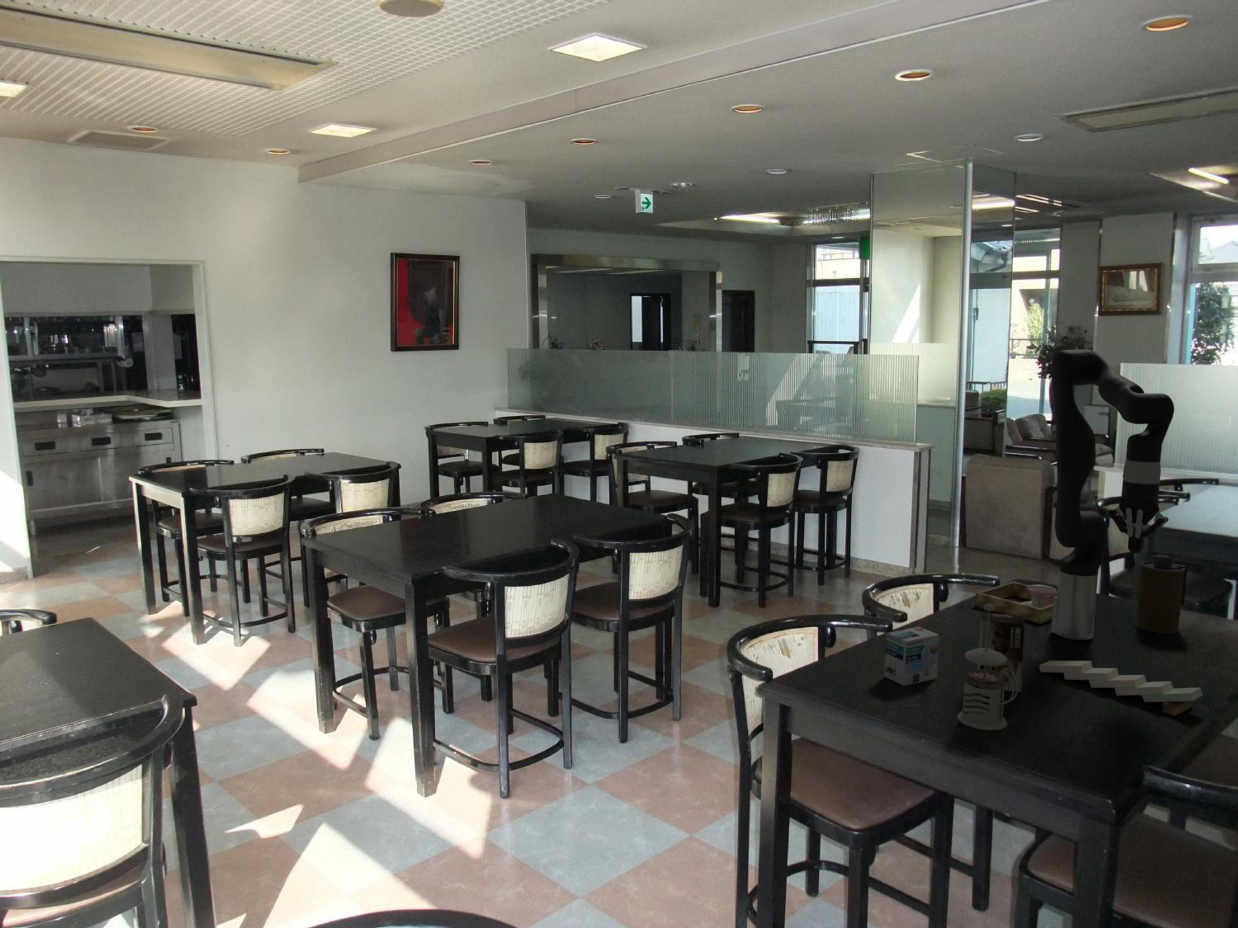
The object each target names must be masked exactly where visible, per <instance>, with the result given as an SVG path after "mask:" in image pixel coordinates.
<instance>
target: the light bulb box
mask: <svg viewBox="0 0 1238 928" xmlns="http://www.w3.org/2000/svg"><path fill="white" fill-rule="evenodd" d="M885 639H886V640H885V645H886V646H885V657H884V659H885V662H884V677H885V678H887V679H889V680H891V681H893V682H896V683H898V684H899V685H902V686H909V685H913V684H919V683H923V682H928V681H934V680H937V679H938V665H939V646H940V634H938V633H936V632H933V631H930V630H927V629H925V628H923V627H920V626H916V627H911V628H907V629H901V630H895V631H891V632H890V631H889V632H886V638H885Z"/></svg>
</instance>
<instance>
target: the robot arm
mask: <svg viewBox="0 0 1238 928" xmlns="http://www.w3.org/2000/svg"><path fill="white" fill-rule="evenodd" d="M1051 359H1052V360H1051V364H1050V367H1051V368H1050V373H1051V375H1050V376H1051V385H1052V392H1053V399H1054V411H1055V412H1054V413H1055V453H1056V454H1055V455H1056V500H1055V501H1056V502H1055V503H1056V504H1055V505H1056V506H1055V514H1054V516H1055V517H1054V532H1055V537H1056V540H1057V541H1058V543H1059V544H1060V545H1061V546H1062V547H1064V548H1068V549H1071V548H1073V550H1072V551H1071V552H1070V553H1068V554H1067V555H1065V556H1064V557H1062V558H1061V559H1060V560H1059V565H1058V567H1059V568H1058V578H1057V579H1058V580H1057V590H1056V592H1057V597H1055V598H1054V599H1053V612H1052V620H1051V627H1050V628H1051V629H1050V632H1051V633H1052V634H1053V633H1054V634H1055V635H1057V636H1059V637H1061V638H1063V639H1067V640H1068V639H1070V640H1077V641H1086V640H1091V639H1093V637H1094V631H1095V630H1094V629H1095V616H1096V603H1097V590H1098V576H1099V568H1100V567H1101V565H1102V564H1103V558H1104V552H1105V551H1104V550H1105V544H1106V536H1107V527H1106V522H1105V520H1104V518H1103V517H1102V515H1101V514H1100V513H1098V512H1096V511H1093V510H1085V511H1082V510H1081V497H1082V496H1081V495H1082V493H1083V489H1084V486H1085V485H1086V482H1087V480H1088V479H1089V477H1090V475H1091V474H1092V471H1093V469H1094V467H1095V463H1096V459H1097V456H1096V451H1097V450H1096V437H1095V436H1096V435H1095V433H1094V430H1093V429H1092V427H1091V425H1090V424H1089V422H1088V421H1087V419H1086V418H1085V417H1084V415H1083V414H1082V412H1081V411H1080V410H1079V408H1078V405H1077V403H1076V400H1075V396H1074V386H1087V385H1094V386H1097V391H1098V394H1099V396H1100V398H1101V399H1102V400H1104V402H1106V403H1107V404H1108V405H1111V406H1112V407H1114V408H1116V411H1117V413H1119V415H1120V416H1121V418H1122V419H1123V420H1124V421H1125V422H1127V423H1128V424H1133V425H1146V427H1145V428H1144V430H1143V431H1142V432H1140V433H1134V434H1132V435H1129V437H1128V438H1127V441H1126V454H1125V461H1124V466H1123V473H1122V482H1121V483H1122V485H1121V500H1120V502H1119V504H1118V506H1117V507H1116V508H1113V509H1110V510H1109V511H1108V514H1109V516H1110V517H1111V519H1112V521H1113V522H1114V524H1115V525H1116V527H1117V529H1118V530H1119V532H1120V533H1121V534H1122V533H1123V534H1126V535H1127V536H1128V540H1127V549H1128V550H1129V553H1131V554H1136V555H1137V554H1140V552H1142V551H1143V549H1144V542H1145V541H1144V540H1145V538H1147V537H1150V536H1151V537H1152V536H1154V535H1155V533H1157V531H1159V530H1160V529H1161V528H1162V527H1163V526H1164V525H1166V523H1168V522H1169V517H1167V516H1164V515H1163V514H1161V512H1160V507H1159V505H1158V504H1159V498H1160V497H1159V496H1160V495H1159V494H1160V487H1161V486H1160V484H1161V476H1162V475H1161V474H1162V472H1161V471H1162V470H1161V469H1162V468H1161V461H1162V450H1163V443H1164V440H1165V438H1166V436H1167V433H1168V431H1169V428H1170V425H1171V423H1172V420H1173V418H1174V413H1175V405H1174V401H1173V399H1172V398H1171V397H1170V395H1168V394H1165V393H1156V392H1155V393H1145V391H1144V389H1143V388H1142V387H1141V386H1140V385H1138V384H1137V383H1136V382H1134V381H1132V380H1130V379H1128V378H1126V377H1125V376H1123V375H1121V374H1120V373H1119V372H1117V370H1115V369H1114V367H1112V366H1111V364H1109V363H1108V362H1107V360H1105V359H1104V358H1103V357H1102V356H1101V355H1100V354H1099V353H1098V352H1096V351H1094V350H1092V349H1066V350H1065V349H1062V350H1059V351H1056V352H1055V353H1054V354H1053V357H1052V358H1051ZM1123 516H1124V517H1123ZM1152 520H1153V523H1152V525H1150V526H1149V523H1150V522H1151V521H1152ZM1148 526H1149V527H1148Z"/></svg>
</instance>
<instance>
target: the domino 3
mask: <svg viewBox="0 0 1238 928" xmlns="http://www.w3.org/2000/svg"><path fill="white" fill-rule="evenodd" d="M1146 682H1147V679H1146V676H1145V674H1131V675H1130V674H1127V675H1125V674H1123V675H1122V674H1118V676H1116V677H1114V678H1112V679H1110V680H1089V686H1090V688H1093V689H1096V688H1098V689H1100V688H1101V689H1105V688H1110V689H1111V688H1114V689H1115V688H1136V687H1138V686H1140V685H1142V684H1144V683H1146Z"/></svg>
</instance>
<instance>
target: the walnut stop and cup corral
mask: <svg viewBox="0 0 1238 928" xmlns="http://www.w3.org/2000/svg"><path fill="white" fill-rule="evenodd" d="M1028 586H1030V585H1029V584H1024V583H1021V582H1017V581H1010V582H1007V583H1004V584H1000V585H997V586H994V587H990V588H988V589H984V590H982V591H977V592H975V597H974V598H975V600H974V602H975V603H974V606H975V607H976V606H979V607H978V608H980V607H981V608H980V609H984V607H985V605H986V604H991V605H993V607H994V610H993V611H992V612H995V611H997V612H996V613H999V612H1001V613H1000V614H1002V613H1004V614H1008V615H1019V616H1023V619H1024V621H1025V620H1026V621H1030V622H1033V623H1037V624H1045V623H1047V622H1050V621H1052V620H1051V619H1052V612H1053V599H1054V598H1055V597H1057V591H1056V594H1054V595H1053V598H1052V599H1051V605H1048V606H1045V607H1042V608H1038V607H1034V606H1030V605H1026V604H1022V602H1018V601H1013V600H1010V599H1006V598H1005V597H1007V598H1009V597H1008V596H1010V597H1013V596H1014V597H1017V596H1018V598H1022V599H1026V600H1029V601H1031V596H1030V592H1029V591H1028V590H1027V587H1028ZM1002 598H1004V599H1002ZM1192 702H1193V701H1166V702H1163V704H1162V713H1164V714H1166V715H1169V716H1173V717H1176V716H1178V715H1180V714H1182V713H1184V712H1185V711H1187V710H1189V709H1191V707H1192Z"/></svg>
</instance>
